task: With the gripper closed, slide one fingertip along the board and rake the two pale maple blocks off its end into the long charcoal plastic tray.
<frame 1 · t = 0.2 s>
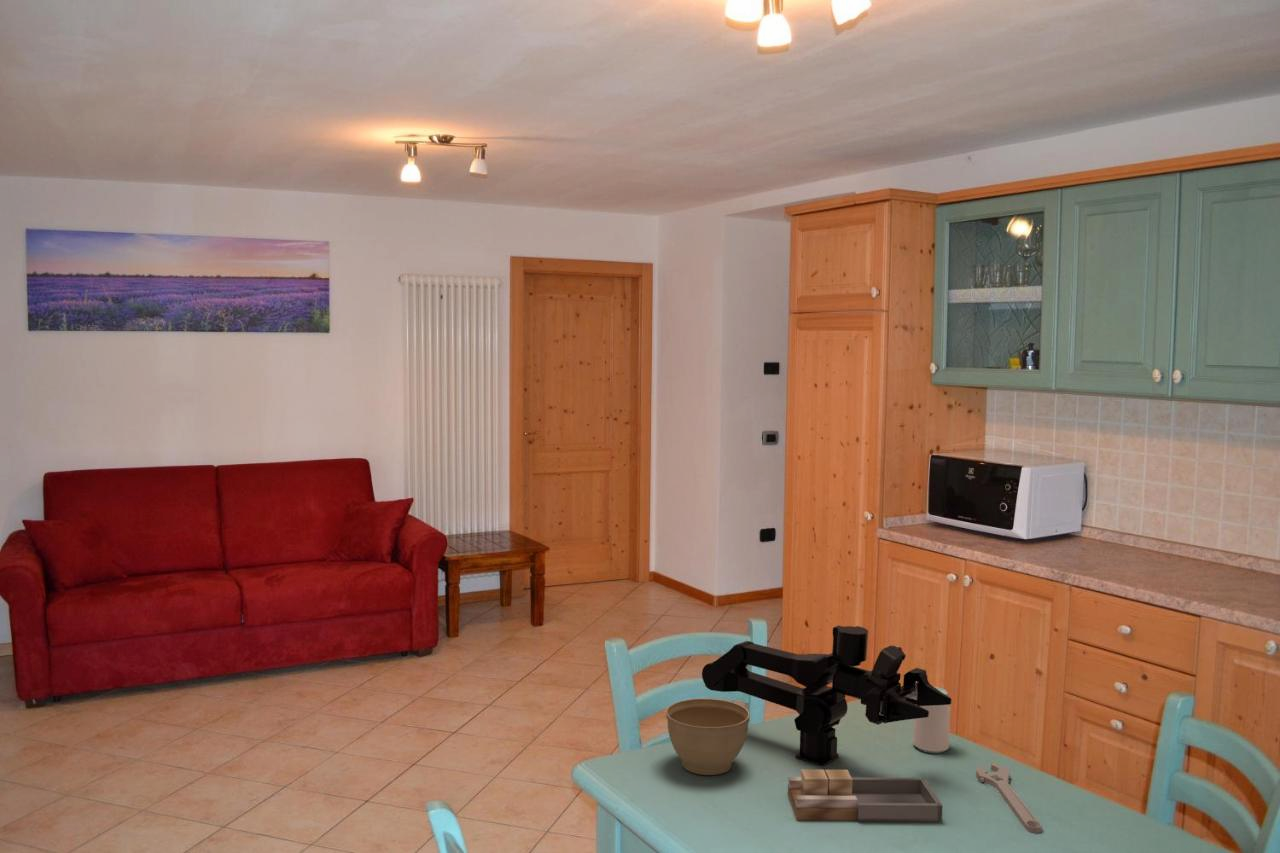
hand: (939, 707, 180), 17 cm above the table, tool horizontal, fingers open, 9 cm apart
light brown cube: (837, 796, 177), point 2 cm above the table, touching slot board
tray: (891, 807, 177), on the table
adjustable wrench: (1005, 801, 181), on the table
slot board: (821, 807, 177), on the table
planter bowl: (706, 767, 194), on the table
can: (930, 748, 204), on the table
brown wooden cube: (813, 796, 177), point 2 cm above the table, touching slot board
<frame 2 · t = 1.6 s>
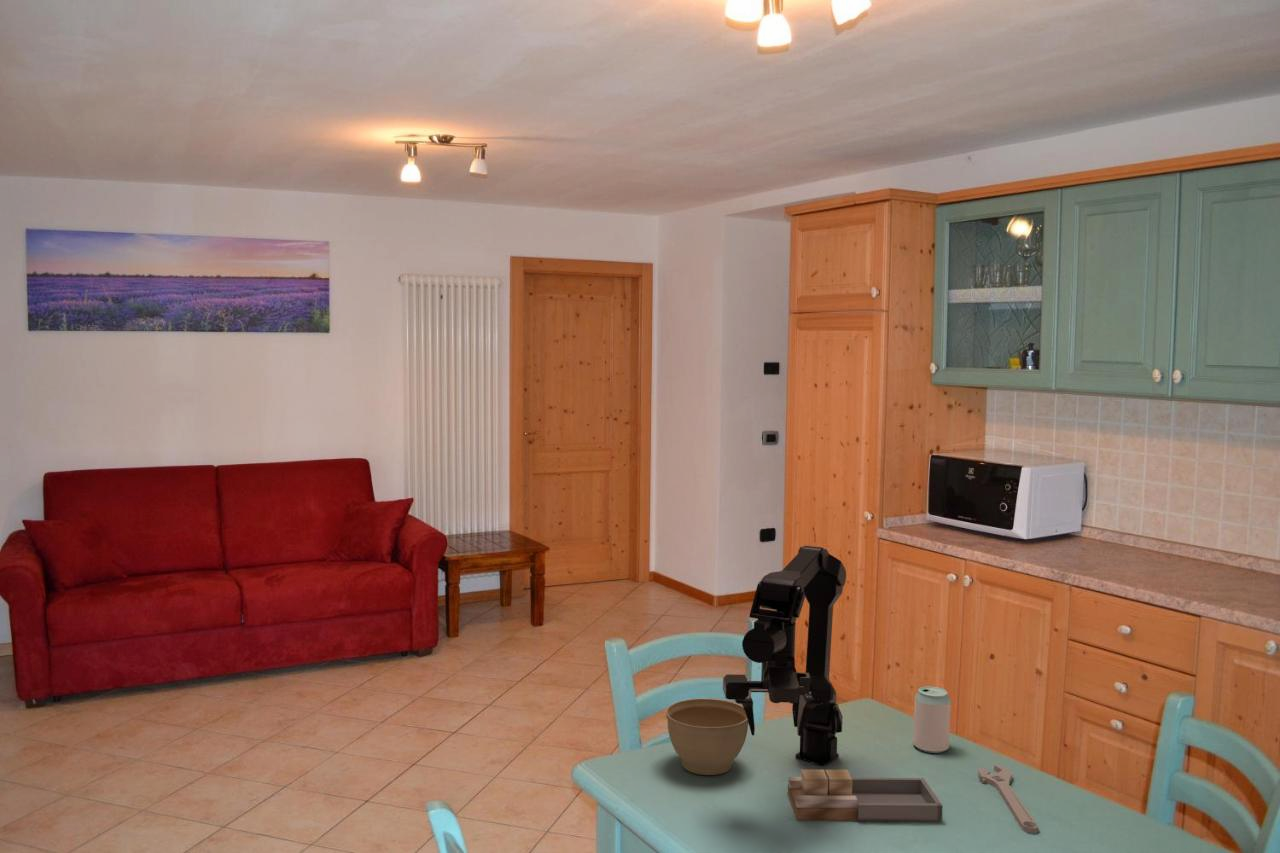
hand: (775, 734, 176), 13 cm above the table, tool pointing down, fingers open, 8 cm apart
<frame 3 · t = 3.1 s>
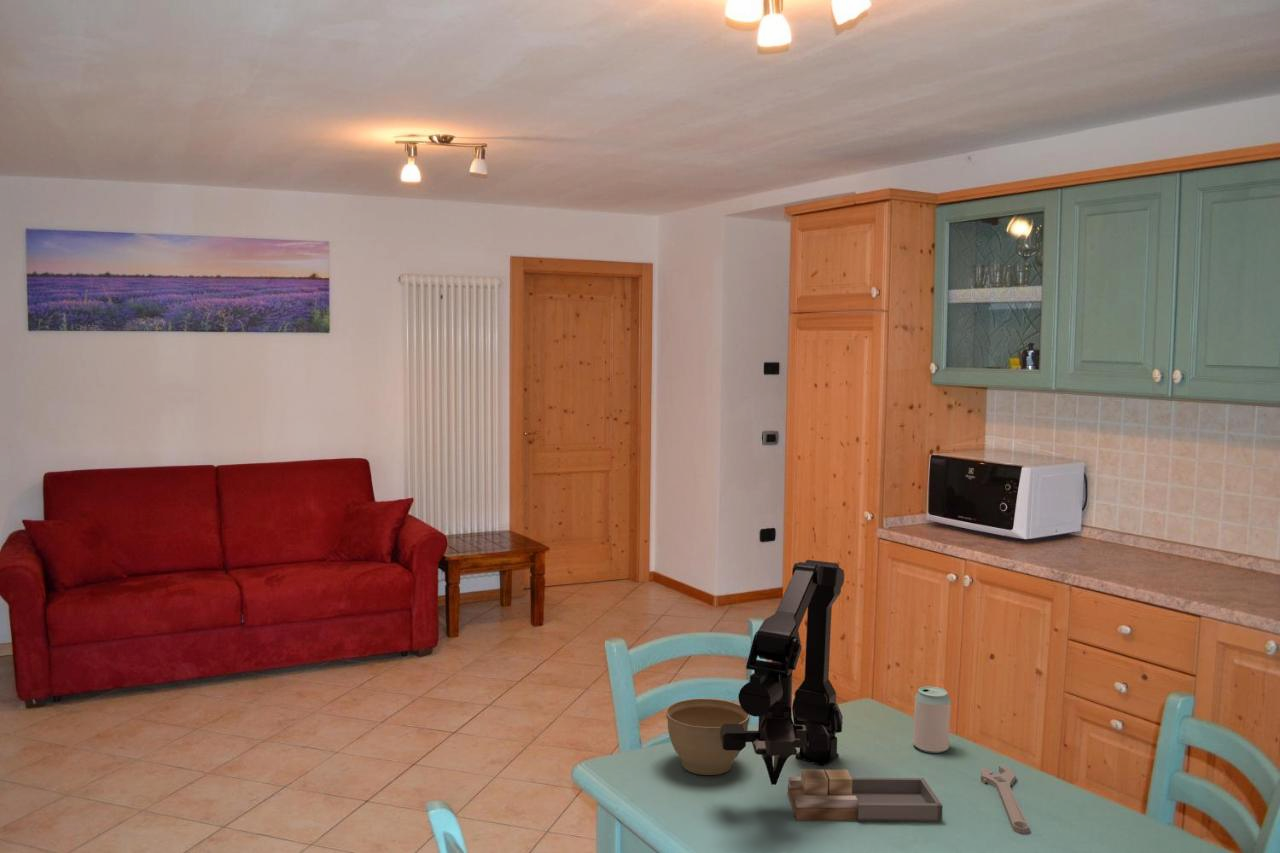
hand: (773, 783, 177), 4 cm above the table, tool pointing down, fingers closed
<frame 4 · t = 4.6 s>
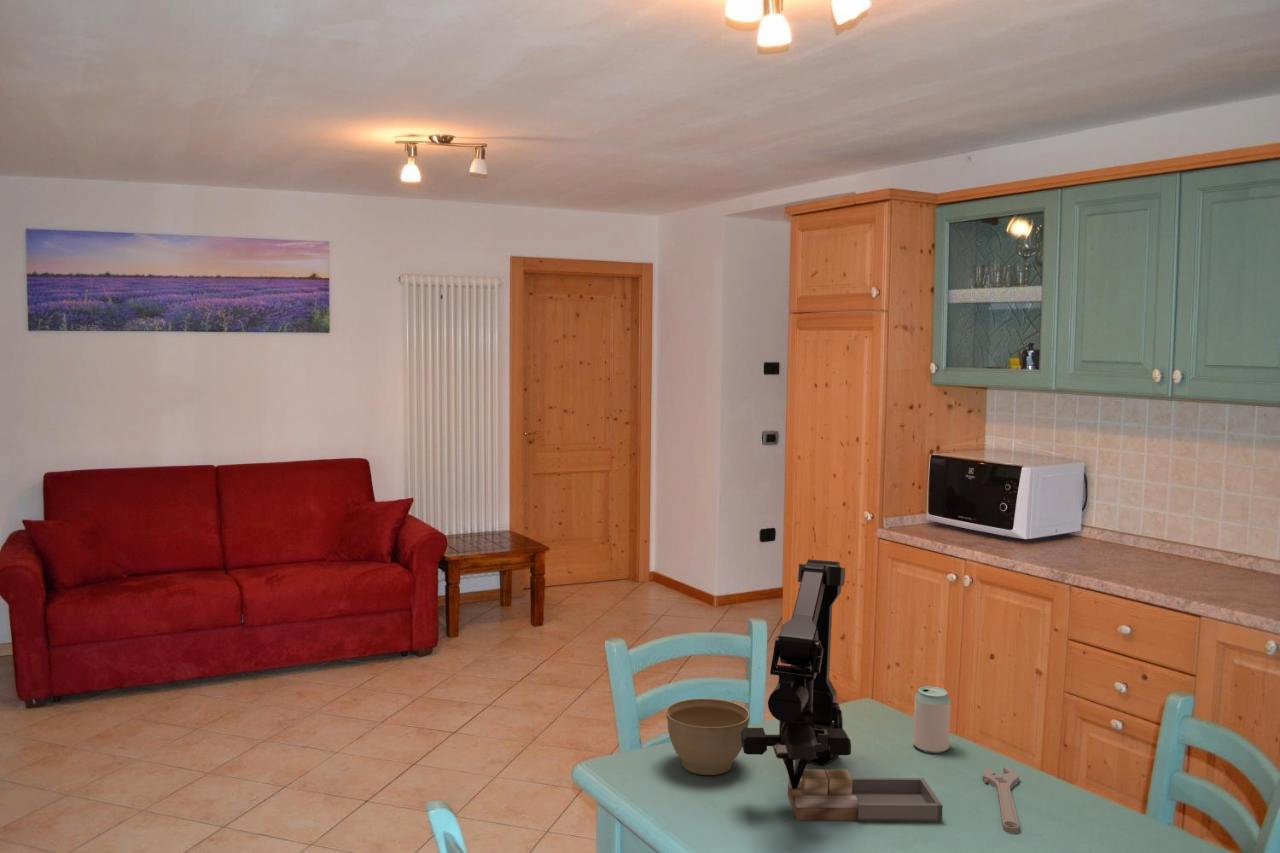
hand: (794, 787, 177), 3 cm above the table, tool pointing down, fingers closed
brown wooden cube: (814, 796, 177), point 2 cm above the table, touching gripper
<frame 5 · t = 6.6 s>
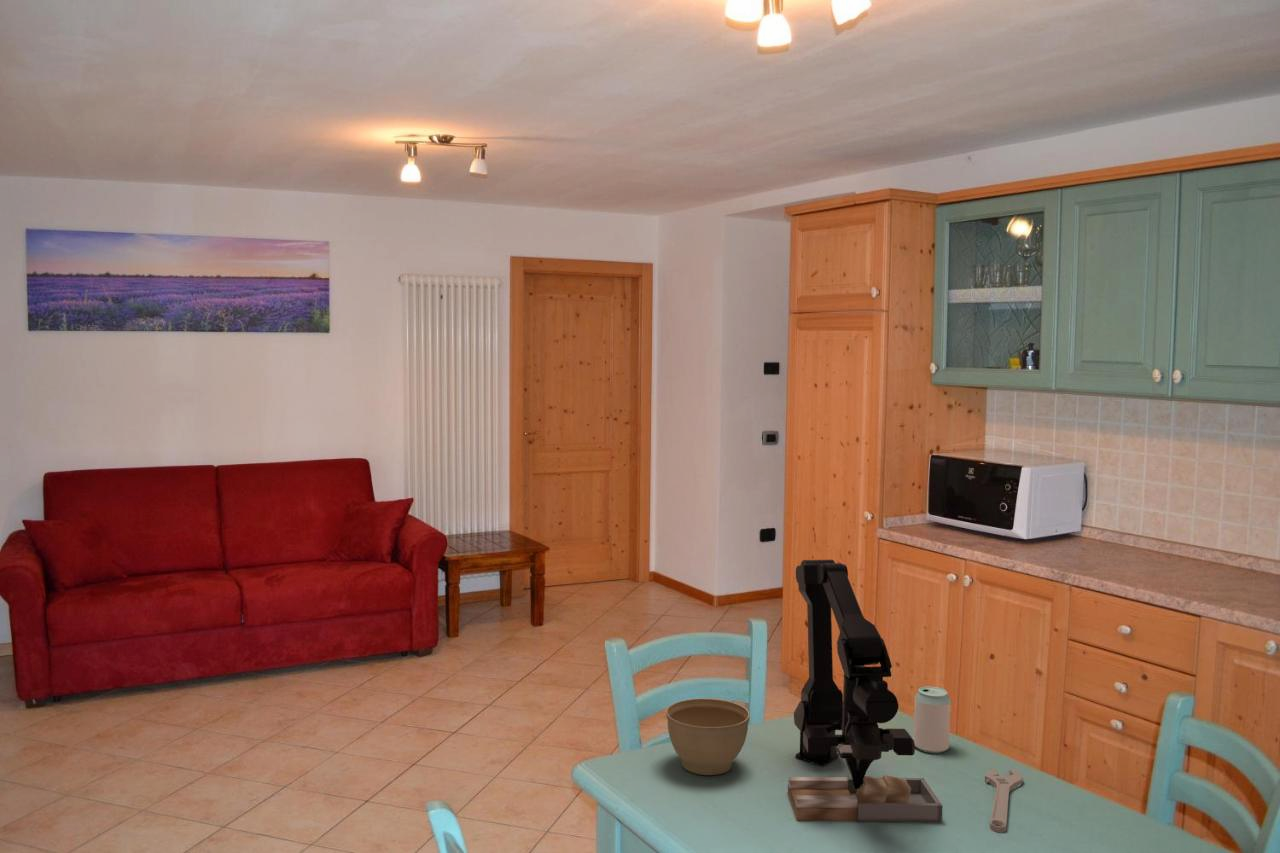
hand: (856, 787, 177), 4 cm above the table, tool pointing down, fingers closed
light brown cube: (892, 803, 177), point 1 cm above the table, tilted 11°, touching tray
brown wooden cube: (868, 803, 177), point 1 cm above the table, tilted 12°, touching gripper, tray
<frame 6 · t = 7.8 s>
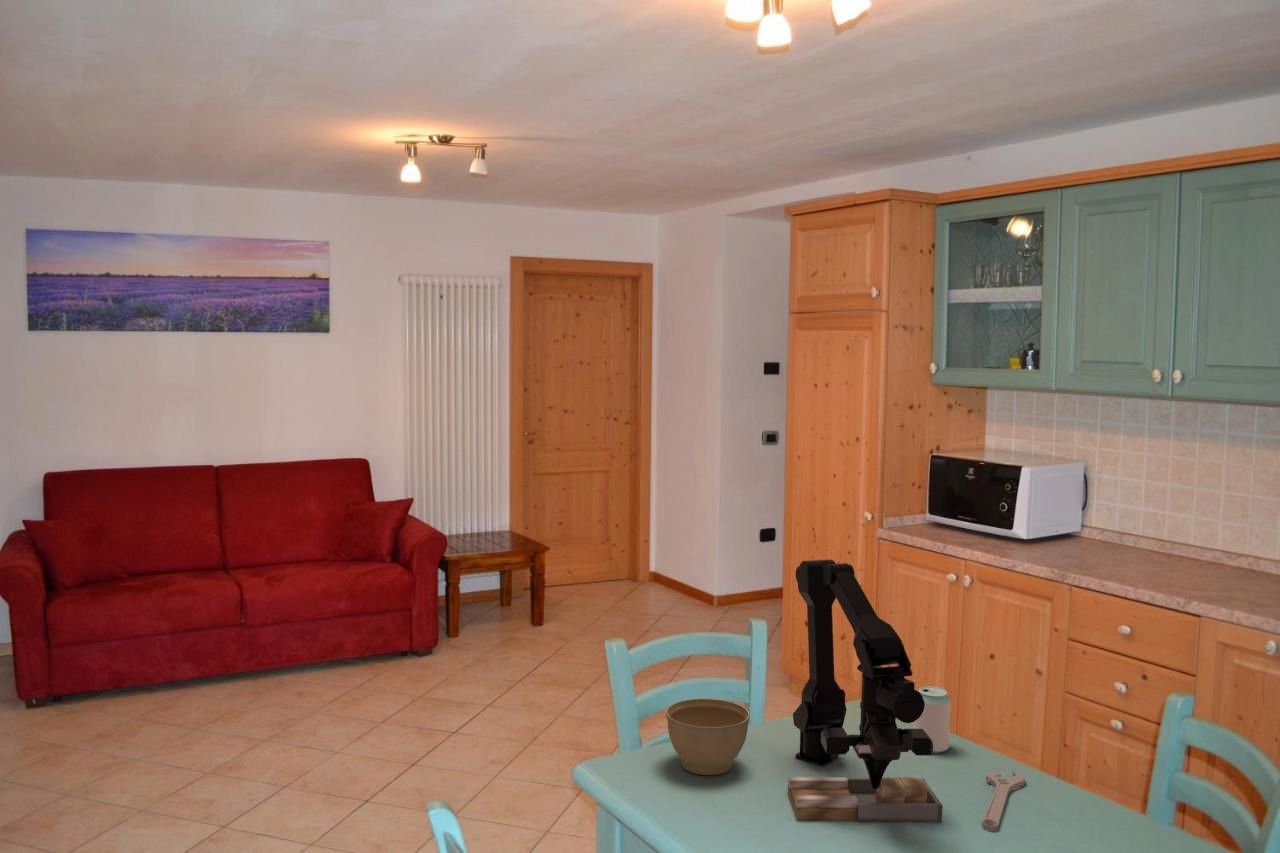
hand: (874, 788, 177), 4 cm above the table, tool pointing down, fingers closed
light brown cube: (910, 803, 177), point 1 cm above the table, touching brown wooden cube, tray
brown wooden cube: (889, 804, 177), point 1 cm above the table, touching light brown cube, gripper, tray
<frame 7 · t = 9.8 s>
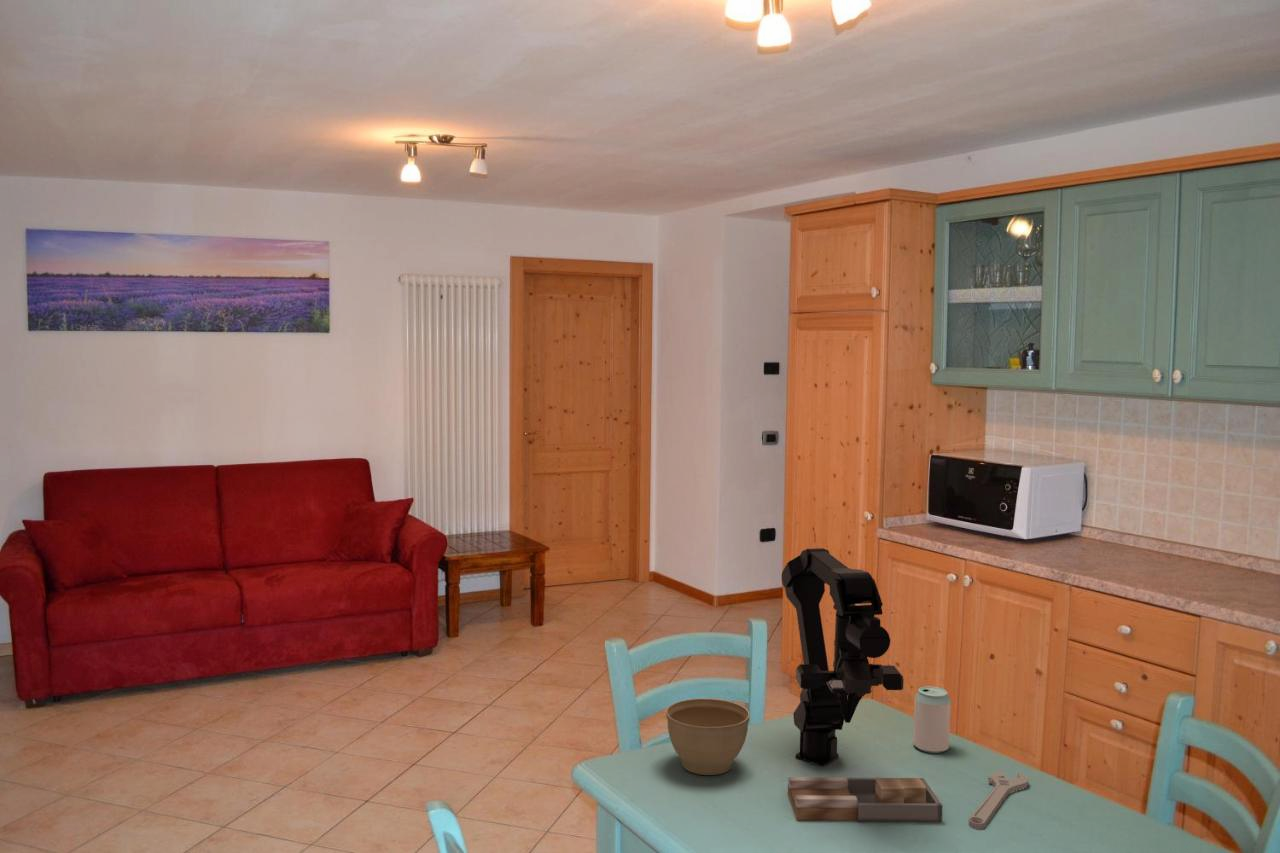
hand: (847, 721, 184), 13 cm above the table, tool pointing down, fingers closed
light brown cube: (910, 804, 177), resting on tray
brown wooden cube: (889, 805, 177), resting on tray
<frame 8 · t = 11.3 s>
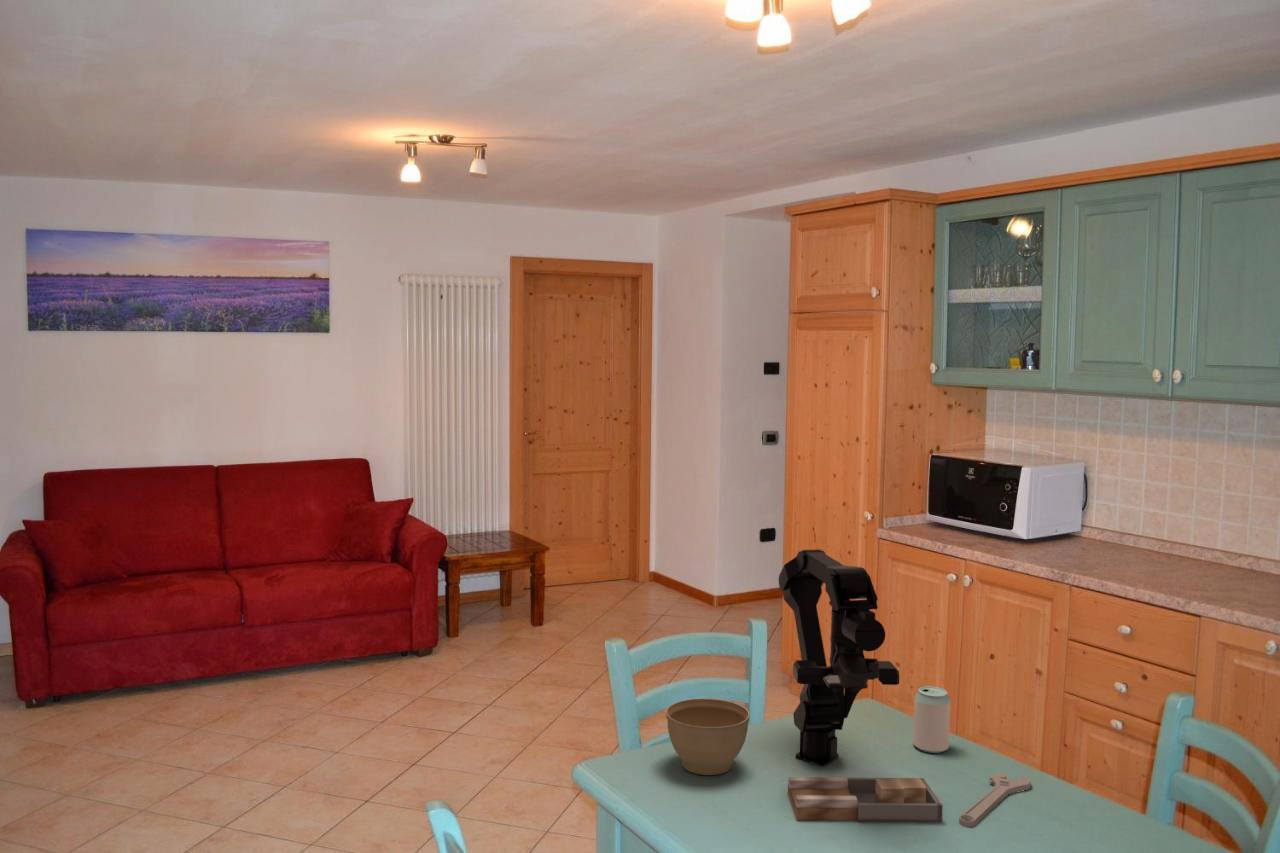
hand: (844, 717, 185), 13 cm above the table, tool pointing down, fingers closed
at the end: brown wooden cube inside the target area on the tray (0.7 cm from its centre), point 0.5 cm above the tray's base; light brown cube inside the target area on the tray (3.5 cm from its centre), point 0.5 cm above the tray's base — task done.
